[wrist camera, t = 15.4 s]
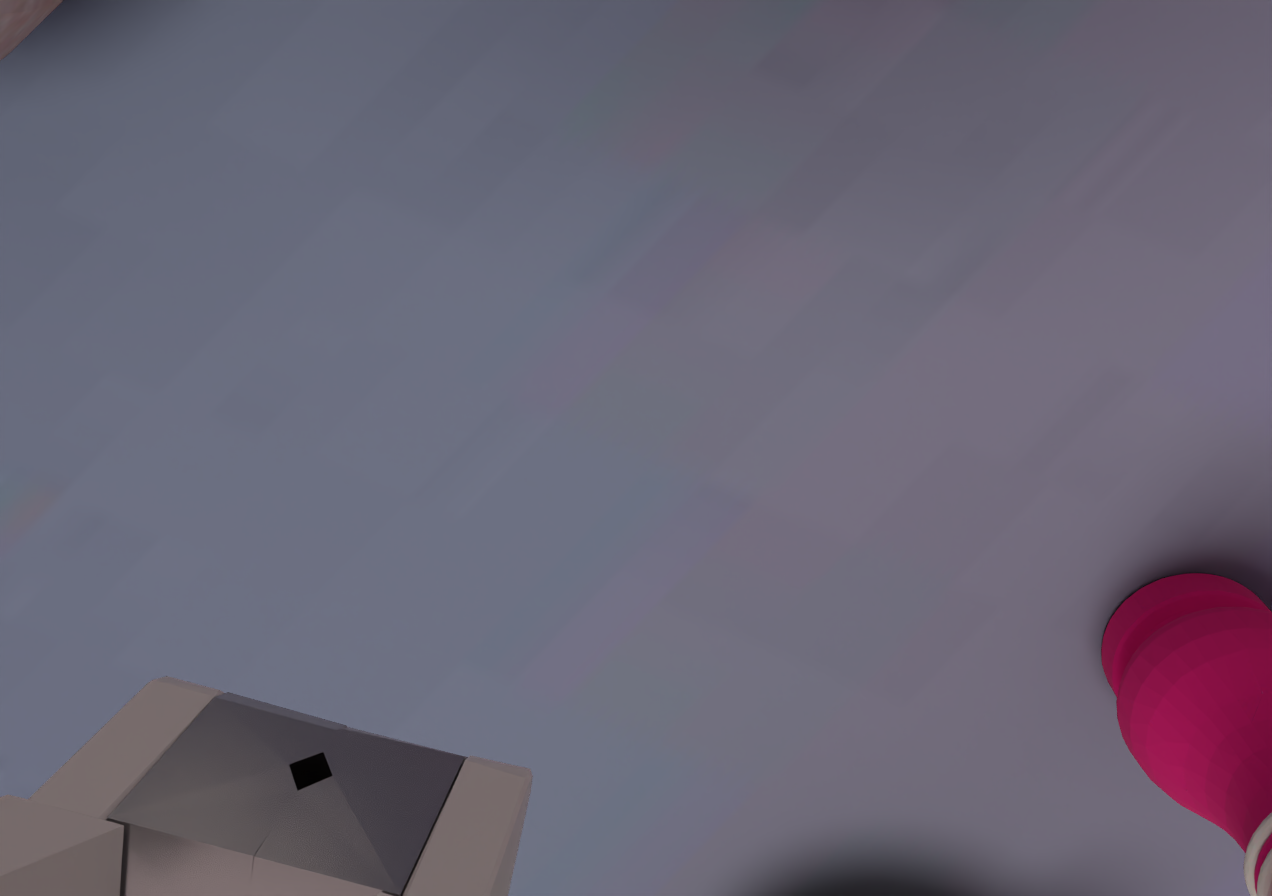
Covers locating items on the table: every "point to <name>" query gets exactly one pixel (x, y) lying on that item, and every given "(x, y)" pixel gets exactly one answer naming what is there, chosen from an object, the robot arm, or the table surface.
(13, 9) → the plant pot
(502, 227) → the table surface
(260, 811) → the robot arm
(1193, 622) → the pepper mill
